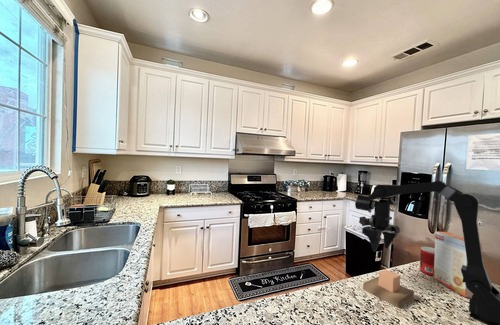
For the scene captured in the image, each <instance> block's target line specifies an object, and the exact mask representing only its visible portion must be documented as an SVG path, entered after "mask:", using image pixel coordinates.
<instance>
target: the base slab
mask: <svg viewBox="0 0 500 325" xmlns="http://www.w3.org/2000/svg"><path fill="white" fill-rule="evenodd" d="M378 283H379V276H377V277H375V278H372V279H369V280H367V281H365V282H363V283H362V290H363V291H365V292H367V293H369V294H371V295H373V296H375V297H377V298H378V299H380V300H382V301H384V302H385V303H388V304H389V305H391V306H392V307H395V308H397V309H399V308H401V307H402V306H404V305H405V303H406V304H407V303H409V302H410V301H411V300H413V299H414V298H415V291H414V290H411V289H409V288H407V287H405V286H403V285H401V284H400V289H399V290H397V291H395V292H391V291H389V290H387V289H385V288H383V287H381V286H379V285H378ZM400 306H401V307H400Z"/></svg>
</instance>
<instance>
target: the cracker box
mask: <svg viewBox="0 0 500 325" xmlns="http://www.w3.org/2000/svg"><path fill="white" fill-rule="evenodd" d="M434 235H435V237H434V238H435V240H434V248H435V258H434V277H433V279H434V280H435V281H438V282H439V283H441V284H442V285H444V286H445V287H447V288H449V289H450V290H452V291H453V292H456V293H457V294H458V295H461V296H463V298H469V299H471V298H472V295H473V293H472V292H471V291H469V290H468V289H467V287H466V285H465V282H464V283H463V282H462V280H463V275H462V272H461V267H462V265H465V266H467V256H466V249H465V242H464V236H460V235H457V234H454V233H451V232H447V231H435V234H434ZM480 244H481V251H482V246H483V244H482V243H481V242H480Z"/></svg>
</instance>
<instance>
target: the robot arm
mask: <svg viewBox="0 0 500 325" xmlns="http://www.w3.org/2000/svg"><path fill="white" fill-rule="evenodd" d="M435 192H437V194H440V195H442V196H443V197H444V198H446V199H448V200H449V201H451V202H453V204H454V207H455V210H456V212H457V215H458V217H459V219H460V222H461V226H462V227H461V228H462V235H463V237H464V242H465V249H466V256H467V266H465V265H462V267H461V272H462V275H463V280H462V282H463V283H464V282H465V285H466V287H467V289H468V290H469V291H471V292H472V293H473V295H472V298H469V300H468V302H469V303H468V312H470V313H468V316H469V317H470V318H473V319H475V320H477V321H480V322H482V323H484V324H486V325H500V291H499V290H498V289H497V288H496V287H495V286H494V285H492V281H491V278H490V276H489V273H488V270H487V269H486V266H485V263H484V259H483V252H482V250H481V244H480V243H481V239H480V233H479V224H478V215H479V206H480V201H479V199H478V197H477V196H476V195H475V194H472V193H469V192H465V193H464V192H462V191H460V190H459V189H456V188H455V187H453V186H451V185H449V184H447V183H446V182H445V181H441V180H434V181H432V182H431V181H428V182H423V183H422V182H418V183H410V184H402V185H400V184H399V185H398V184H377V185H375V186H374V187H373V191H372V193H370V195H369V196H367V195H363V194H357V197H356V200H355V203H354V207H355V209H356V210H360V211H366V212H371V211H373V210H374V214H372V215H370V216H371V217H366V216H360V217H359V219H358V220H359V224H360V225H361V226H362V228H361V230H362V231H361V234H363V235H364V236H366V237H367V238H368V241H369V243H370V245H371V250H372V252H374V253H376V252H377V249H379V248H378V247H379V246H380V243H381V240H382V238H383V244H384V245H383V246H384V248H385V249H387V250H388V249H389V247H390V246H391V244H392V243H393V242H394V240H395V238H396V237H397V236H398V234H400V230H401V229H400V227H399V226H398V225H396V224H391V223H390V222H391V220H393V217H392V216H391V205H392V206H395V205H396V204H397V202H396V201H395V200H393V198H391V197H395V196H399V195H408V194H420V193H435ZM385 198H389V199H385ZM378 199H379V200H378ZM382 235H383V237H382Z"/></svg>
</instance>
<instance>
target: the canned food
mask: <svg viewBox="0 0 500 325" xmlns="http://www.w3.org/2000/svg"><path fill="white" fill-rule="evenodd" d="M419 254H420V257H419V258H420V260H419V270H420V272H421V273H423V274H424V275H426V276H429V277H433V278H434V258H435V247H430V246H421V247H420V253H419Z"/></svg>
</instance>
